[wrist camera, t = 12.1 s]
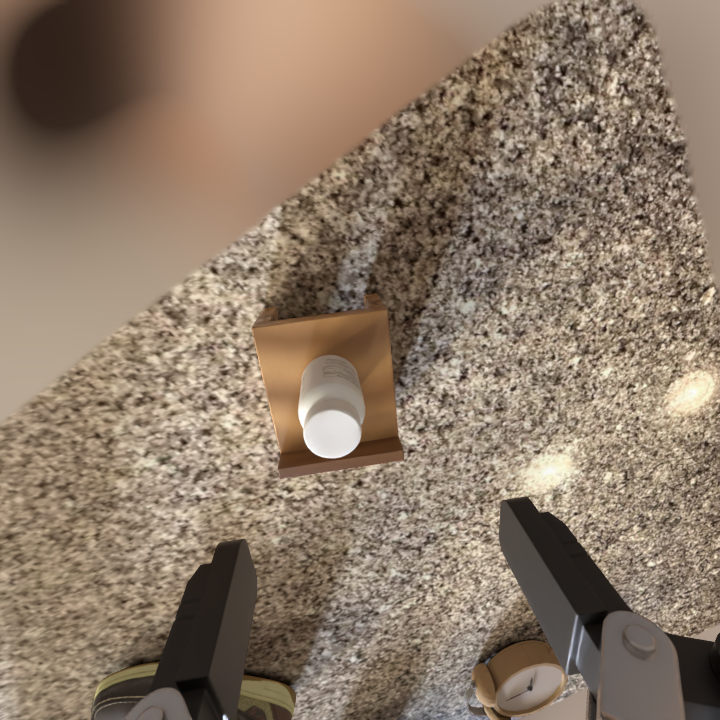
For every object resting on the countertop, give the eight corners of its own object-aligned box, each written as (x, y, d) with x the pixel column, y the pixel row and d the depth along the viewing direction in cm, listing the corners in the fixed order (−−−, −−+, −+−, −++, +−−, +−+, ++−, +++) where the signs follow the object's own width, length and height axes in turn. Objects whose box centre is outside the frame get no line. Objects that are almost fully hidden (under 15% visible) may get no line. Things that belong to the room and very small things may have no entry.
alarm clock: (576, 692, 54) (488, 751, 53) (551, 657, 59) (470, 710, 57) (561, 650, 50) (465, 712, 48) (535, 616, 55) (447, 672, 53)
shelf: (263, 308, 32) (245, 336, 25) (376, 293, 33) (392, 316, 26) (288, 426, 37) (279, 479, 30) (387, 411, 37) (404, 460, 30)
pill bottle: (323, 414, 30) (323, 477, 23) (290, 373, 29) (279, 427, 21) (368, 386, 30) (384, 441, 22) (337, 342, 28) (343, 387, 21)
